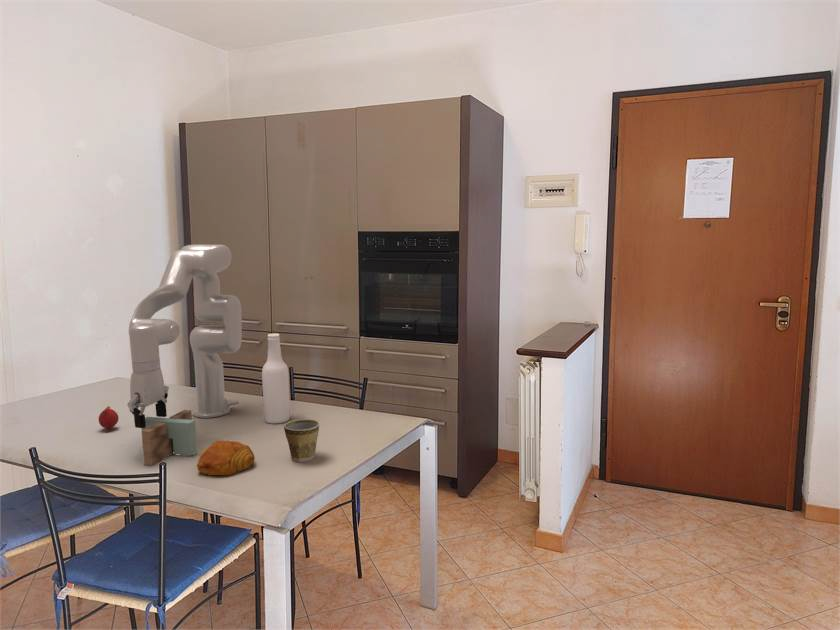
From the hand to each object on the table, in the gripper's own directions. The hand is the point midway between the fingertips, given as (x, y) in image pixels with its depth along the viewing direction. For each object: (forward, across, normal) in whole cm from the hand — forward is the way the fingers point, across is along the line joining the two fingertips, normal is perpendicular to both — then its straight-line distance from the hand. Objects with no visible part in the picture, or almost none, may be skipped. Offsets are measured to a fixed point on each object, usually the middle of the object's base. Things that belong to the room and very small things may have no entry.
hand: (151, 421), depth 184 cm
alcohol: (+10, -34, +24) cm, 43 cm away
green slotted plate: (+9, +1, +6) cm, 11 cm away
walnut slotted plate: (+9, +1, +6) cm, 11 cm away
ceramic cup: (+9, -5, +46) cm, 47 cm away
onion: (+10, -13, -26) cm, 31 cm away
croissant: (+9, +7, +28) cm, 30 cm away
